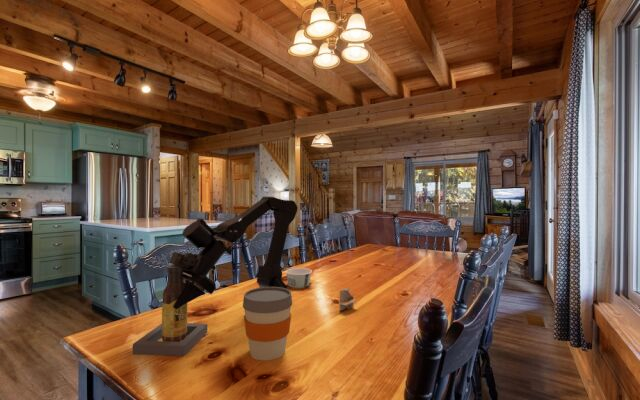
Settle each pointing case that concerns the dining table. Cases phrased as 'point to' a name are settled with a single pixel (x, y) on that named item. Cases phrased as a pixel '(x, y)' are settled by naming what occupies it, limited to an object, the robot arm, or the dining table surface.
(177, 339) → the sauce bottle
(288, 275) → the food container
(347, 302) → the architectural model
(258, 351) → the reusable coffee cup
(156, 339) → the grey square frame
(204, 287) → the robot arm
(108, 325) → the dining table surface
